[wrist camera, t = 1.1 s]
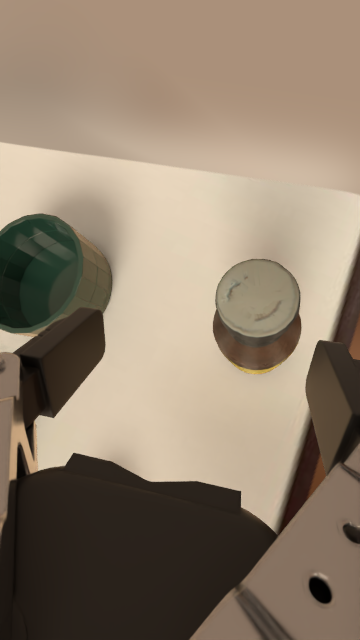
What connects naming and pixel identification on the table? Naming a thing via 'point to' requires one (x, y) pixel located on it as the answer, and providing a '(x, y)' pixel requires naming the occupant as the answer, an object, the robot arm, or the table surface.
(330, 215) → the table surface
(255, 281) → the sauce bottle
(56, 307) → the pot
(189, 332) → the table surface
